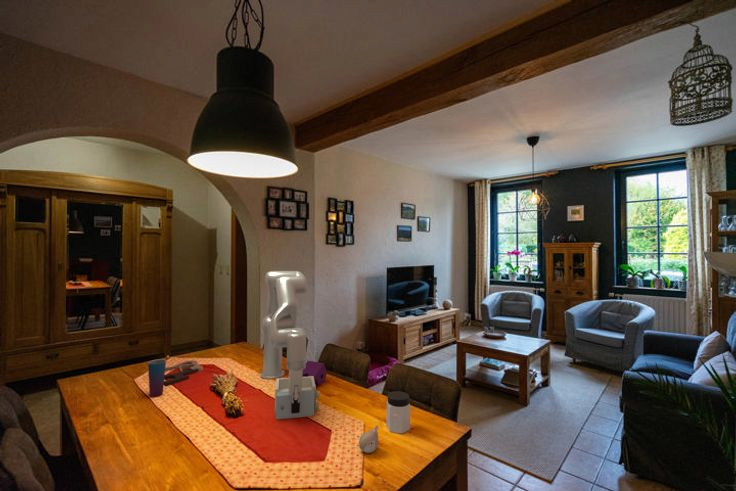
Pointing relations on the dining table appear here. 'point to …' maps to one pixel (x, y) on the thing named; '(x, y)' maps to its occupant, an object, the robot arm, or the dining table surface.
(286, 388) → the cabinet
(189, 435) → the dining table surface
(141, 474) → the dining table surface
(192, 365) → the wood carving
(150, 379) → the cup
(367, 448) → the garlic bulb
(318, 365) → the mounting bracket
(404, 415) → the jar
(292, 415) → the door
